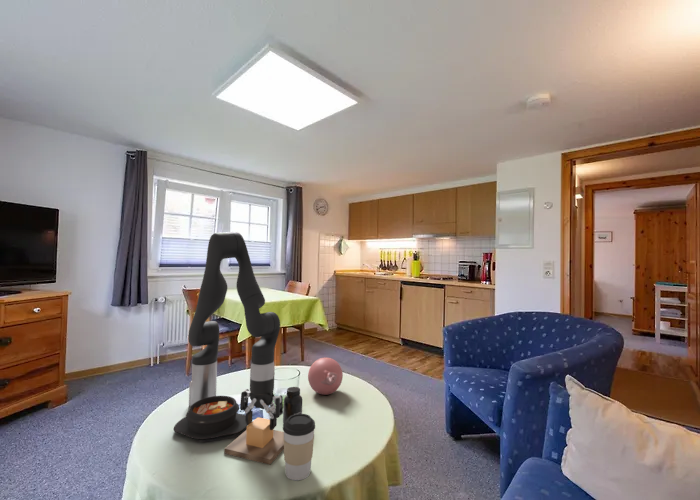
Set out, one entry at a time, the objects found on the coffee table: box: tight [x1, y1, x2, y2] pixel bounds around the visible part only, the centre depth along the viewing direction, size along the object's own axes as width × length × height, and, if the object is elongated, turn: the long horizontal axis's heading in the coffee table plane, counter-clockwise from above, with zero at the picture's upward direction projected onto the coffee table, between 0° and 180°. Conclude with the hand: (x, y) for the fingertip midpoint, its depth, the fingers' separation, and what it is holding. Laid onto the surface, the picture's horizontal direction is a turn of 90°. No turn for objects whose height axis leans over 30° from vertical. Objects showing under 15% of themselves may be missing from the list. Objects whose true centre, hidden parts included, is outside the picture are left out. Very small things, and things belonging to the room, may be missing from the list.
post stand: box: [223, 429, 284, 466], centre depth 100 cm, size 16×14×6 cm
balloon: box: [307, 356, 344, 396], centre depth 137 cm, size 15×20×15 cm
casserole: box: [173, 395, 248, 440], centre depth 109 cm, size 25×19×8 cm
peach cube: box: [246, 416, 274, 448], centre depth 100 cm, size 6×6×6 cm
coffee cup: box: [282, 413, 316, 481], centre depth 88 cm, size 9×9×15 cm
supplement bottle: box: [282, 386, 303, 423], centre depth 114 cm, size 7×7×12 cm
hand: (260, 426), depth 100 cm, fingers open, 8 cm apart
